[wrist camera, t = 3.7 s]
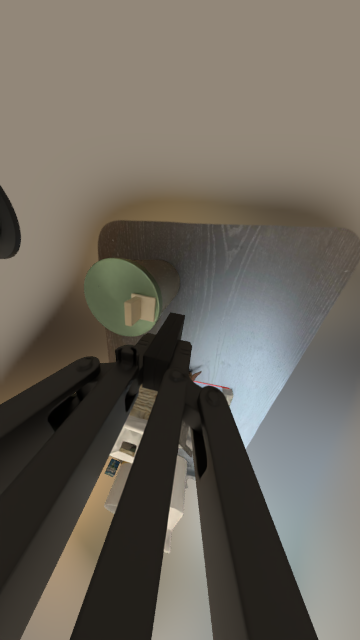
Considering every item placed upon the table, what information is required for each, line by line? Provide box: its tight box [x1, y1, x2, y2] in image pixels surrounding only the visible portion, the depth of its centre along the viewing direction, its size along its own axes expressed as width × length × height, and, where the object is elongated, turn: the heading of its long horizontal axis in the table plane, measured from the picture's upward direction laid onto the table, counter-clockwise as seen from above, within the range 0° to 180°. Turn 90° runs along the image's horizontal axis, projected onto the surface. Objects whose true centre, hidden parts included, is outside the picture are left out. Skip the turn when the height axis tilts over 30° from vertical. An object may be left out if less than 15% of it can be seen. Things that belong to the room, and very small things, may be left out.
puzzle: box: [105, 459, 120, 477], centre depth 86 cm, size 6×6×6 cm
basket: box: [110, 384, 158, 463], centre depth 47 cm, size 24×16×15 cm
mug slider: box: [124, 293, 156, 326], centre depth 15 cm, size 3×3×3 cm
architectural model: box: [178, 381, 233, 457], centre depth 51 cm, size 18×45×6 cm, turn 175°
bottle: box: [164, 455, 187, 553], centre depth 60 cm, size 12×12×25 cm
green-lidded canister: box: [84, 258, 180, 336], centre depth 24 cm, size 10×10×16 cm
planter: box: [104, 445, 137, 514], centre depth 60 cm, size 20×20×21 cm
